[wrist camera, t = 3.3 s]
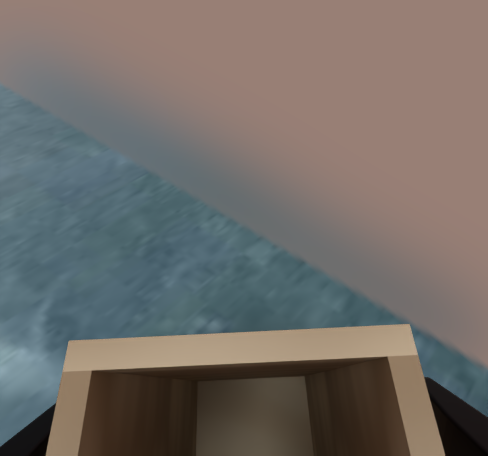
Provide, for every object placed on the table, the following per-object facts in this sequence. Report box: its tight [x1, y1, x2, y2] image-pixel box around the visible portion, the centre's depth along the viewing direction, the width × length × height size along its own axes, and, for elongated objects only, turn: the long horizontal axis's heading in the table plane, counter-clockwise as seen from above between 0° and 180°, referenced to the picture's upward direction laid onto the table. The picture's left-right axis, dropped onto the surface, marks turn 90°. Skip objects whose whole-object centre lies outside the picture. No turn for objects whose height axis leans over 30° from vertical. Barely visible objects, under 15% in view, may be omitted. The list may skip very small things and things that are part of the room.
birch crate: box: [46, 324, 445, 456], centre depth 9 cm, size 4×6×11 cm
